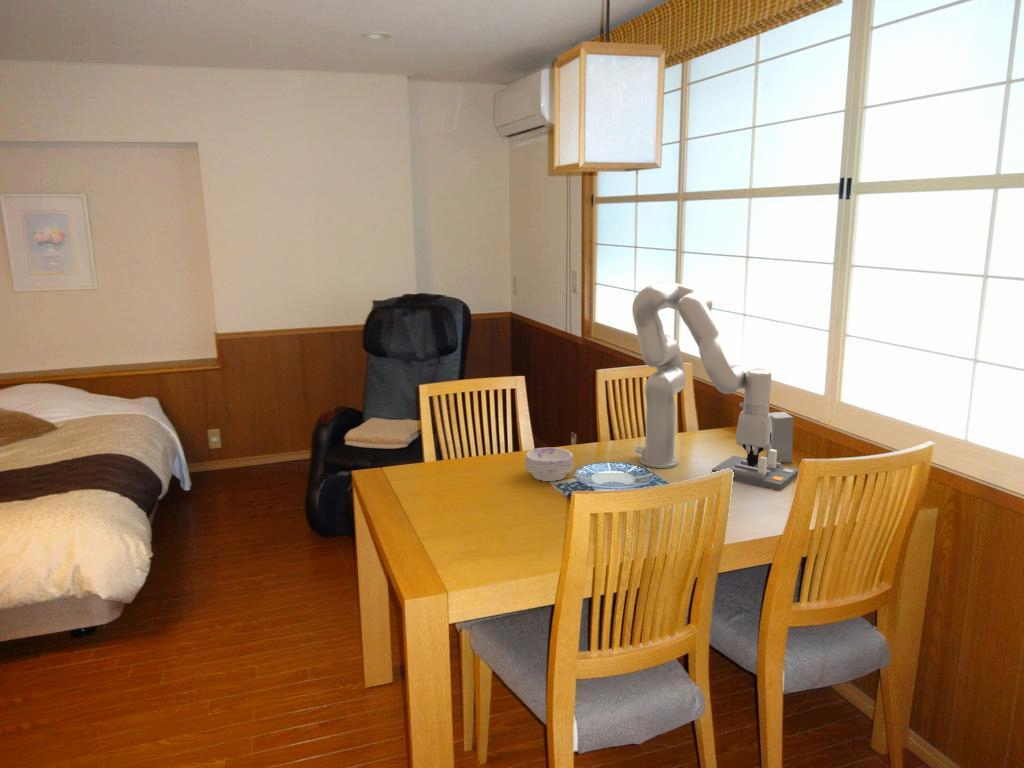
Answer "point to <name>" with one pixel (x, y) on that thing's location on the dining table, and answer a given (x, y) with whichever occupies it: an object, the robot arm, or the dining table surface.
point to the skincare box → (782, 436)
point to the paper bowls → (549, 463)
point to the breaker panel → (772, 479)
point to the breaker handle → (772, 457)
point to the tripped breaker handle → (762, 465)
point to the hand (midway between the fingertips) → (752, 465)
